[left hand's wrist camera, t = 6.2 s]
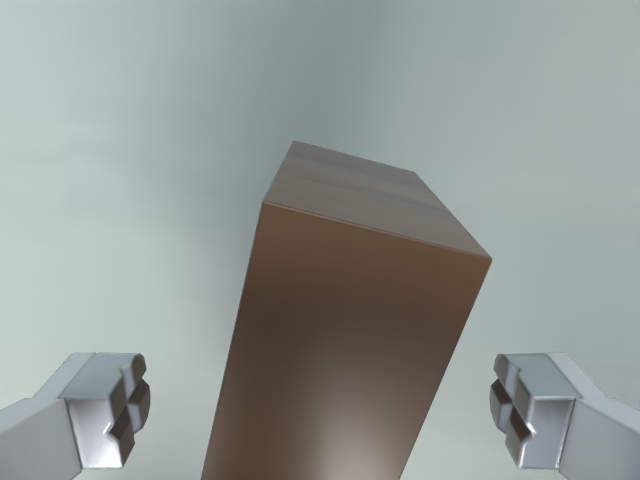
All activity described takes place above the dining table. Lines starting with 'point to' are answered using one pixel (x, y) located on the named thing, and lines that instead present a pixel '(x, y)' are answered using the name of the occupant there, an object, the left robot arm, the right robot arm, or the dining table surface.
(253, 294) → the bar
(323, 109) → the dining table surface
